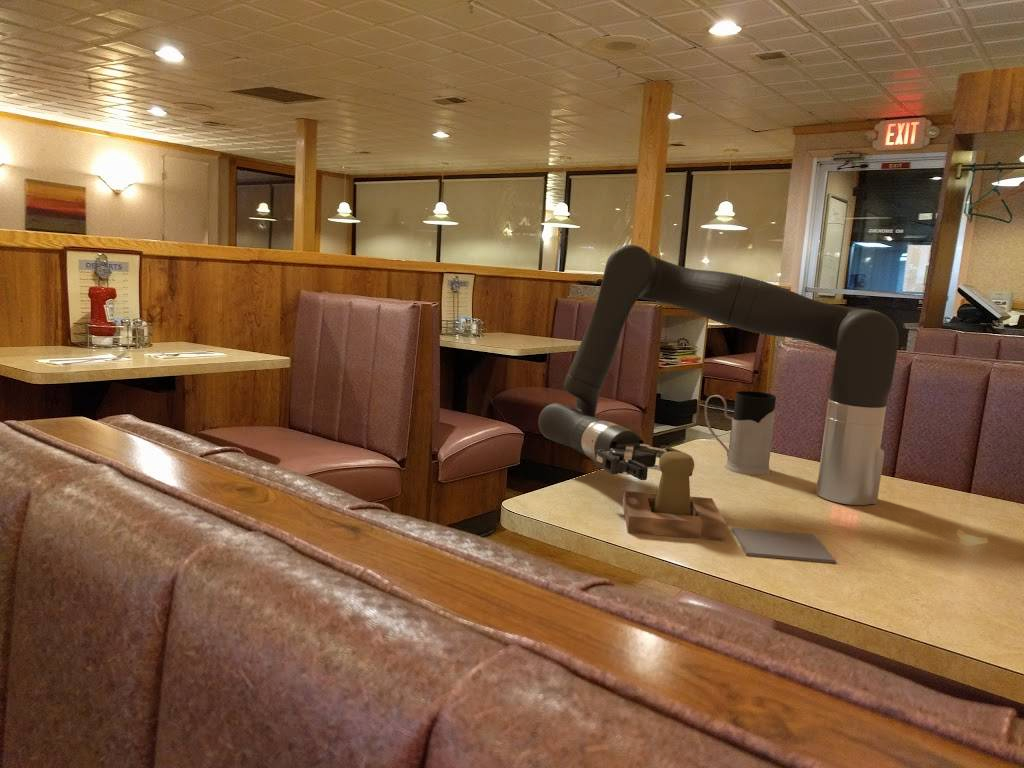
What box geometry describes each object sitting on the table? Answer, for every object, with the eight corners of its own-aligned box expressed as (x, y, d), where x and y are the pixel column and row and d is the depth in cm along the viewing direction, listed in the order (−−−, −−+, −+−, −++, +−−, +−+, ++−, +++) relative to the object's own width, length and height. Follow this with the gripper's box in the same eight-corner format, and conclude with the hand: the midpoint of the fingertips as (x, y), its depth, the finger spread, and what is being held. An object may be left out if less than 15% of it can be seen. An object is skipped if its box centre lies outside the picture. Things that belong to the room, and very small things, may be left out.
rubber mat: (812, 536, 113) (813, 534, 113) (835, 563, 103) (835, 560, 103) (731, 529, 114) (732, 527, 114) (746, 555, 104) (746, 552, 104)
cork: (691, 531, 112) (698, 460, 110) (650, 526, 113) (657, 455, 112) (690, 518, 118) (697, 450, 116) (651, 513, 119) (657, 446, 117)
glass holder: (763, 478, 144) (773, 400, 141) (691, 463, 151) (699, 389, 149) (775, 468, 151) (784, 395, 148) (706, 455, 158) (713, 384, 156)
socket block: (710, 513, 121) (711, 498, 121) (724, 540, 109) (726, 524, 109) (622, 505, 122) (623, 491, 122) (627, 532, 110) (629, 516, 110)
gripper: (577, 426, 127) (632, 451, 112) (647, 423, 133) (708, 445, 119) (574, 469, 128) (627, 499, 114) (644, 464, 134) (703, 491, 120)
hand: (668, 472), depth 116 cm, fingers open, 8 cm apart
